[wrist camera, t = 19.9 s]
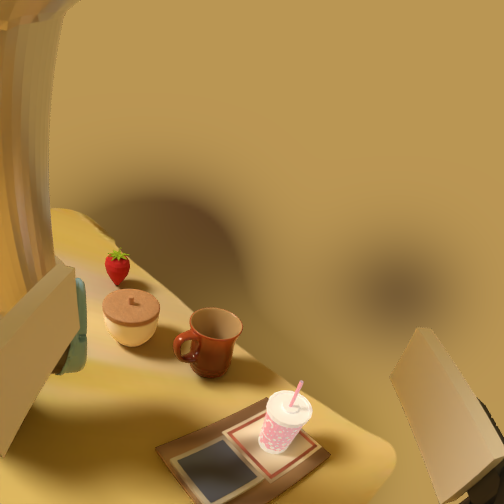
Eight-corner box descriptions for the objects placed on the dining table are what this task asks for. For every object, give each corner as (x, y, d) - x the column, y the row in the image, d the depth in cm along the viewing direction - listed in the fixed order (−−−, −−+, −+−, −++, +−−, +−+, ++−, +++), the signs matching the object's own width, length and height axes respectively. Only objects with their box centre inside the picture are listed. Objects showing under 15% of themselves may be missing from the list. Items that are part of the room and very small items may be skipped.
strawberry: (123, 275, 78) (125, 238, 74) (133, 290, 73) (135, 252, 69) (102, 278, 74) (101, 241, 70) (110, 294, 69) (109, 255, 65)
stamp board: (155, 450, 38) (155, 443, 37) (265, 400, 51) (268, 393, 50) (219, 531, 28) (221, 528, 27) (329, 457, 41) (333, 450, 41)
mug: (215, 345, 62) (223, 303, 58) (242, 374, 56) (253, 331, 52) (160, 362, 54) (162, 317, 50) (184, 396, 48) (189, 351, 44)
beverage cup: (255, 422, 45) (278, 360, 40) (293, 430, 45) (324, 369, 39) (250, 453, 40) (275, 394, 34) (292, 461, 39) (326, 404, 34)
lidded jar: (162, 325, 64) (165, 286, 60) (152, 360, 54) (153, 319, 50) (113, 315, 63) (112, 276, 59) (97, 348, 53) (93, 307, 49)
